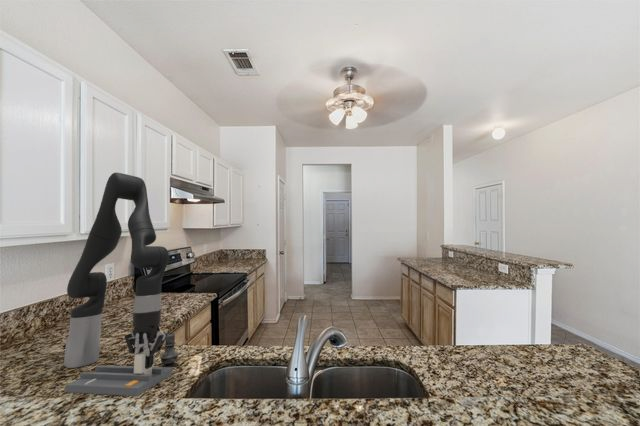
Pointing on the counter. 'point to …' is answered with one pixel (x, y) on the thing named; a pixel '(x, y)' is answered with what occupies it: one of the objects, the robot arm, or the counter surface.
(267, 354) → the counter surface
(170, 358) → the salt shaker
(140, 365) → the fader tab
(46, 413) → the counter surface
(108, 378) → the fader console
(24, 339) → the counter surface
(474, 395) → the counter surface
